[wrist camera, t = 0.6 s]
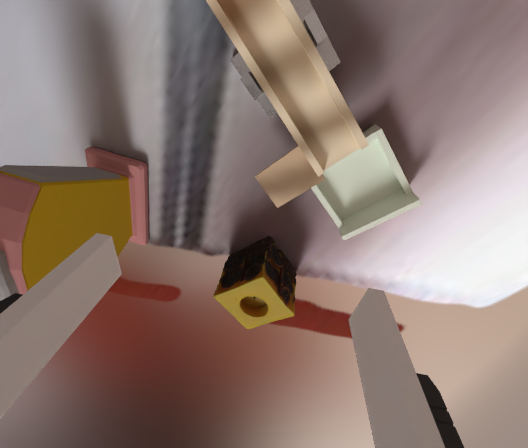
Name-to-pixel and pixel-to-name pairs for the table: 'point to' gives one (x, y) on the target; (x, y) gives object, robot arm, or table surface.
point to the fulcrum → (318, 38)
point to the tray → (366, 187)
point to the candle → (258, 285)
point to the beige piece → (292, 92)
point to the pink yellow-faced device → (67, 213)
